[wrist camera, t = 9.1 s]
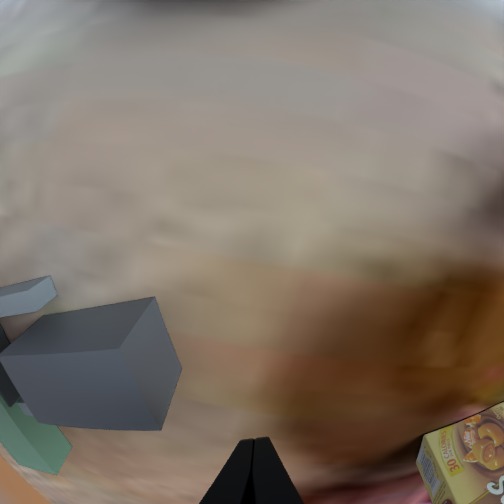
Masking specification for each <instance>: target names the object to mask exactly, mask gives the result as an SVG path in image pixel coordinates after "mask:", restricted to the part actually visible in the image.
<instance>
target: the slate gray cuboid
mask: <svg viewBox="0 0 504 504" xmlns="http://www.w3.org/2000/svg"><path fill="white" fill-rule="evenodd" d="M0 361H1V363H2V365H3V367H4V369H5V371H6V372H7V374H8V376H9V378H10V379H11V381H12V383H13V384H14V386H15V388H16V389H17V391H18V393H19V394H20V396H21V398H22V399H23V401H24V402H25V404H26V405H27V407H28V408H29V410H30V411H31V413H32V414H33V416H34V417H35V419H36V420H37V422H38V423H42V424H50V425H58V426H67V427H77V428H90V429H106V430H142V431H150V430H161V429H162V426H163V423H164V420H165V417H166V414H167V411H168V408H169V405H170V402H171V399H172V396H173V394H174V391H175V388H176V385H177V382H178V379H179V376H180V373H181V370H182V367H181V364H180V362H179V360H178V357H177V355H176V352H175V349H174V347H173V344H172V342H171V339H170V337H169V334H168V331H167V329H166V326H165V323H164V320H163V318H162V315H161V312H160V309H159V307H158V304H157V301H156V298H155V297H150V298H144V299H138V300H133V301H127V302H121V303H115V304H110V305H104V306H98V307H92V308H86V309H80V310H74V311H68V312H62V313H55V314H49V315H43V316H42V317H41V318H40V319H39V320H37V321H36V322H35V323H34V324H33V325H32V326H30V327H29V328H28V329H27V330H26V331H25V332H24V333H22V334H21V335H20V336H19V337H18V338H17V339H16V340H15V341H13V342H12V343H11V344H10V345H9V346H8V347H7V348H6V349H5V350H3V351H2V352H1V353H0Z"/></svg>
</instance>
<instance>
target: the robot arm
mask: <svg viewBox="0 0 504 504" xmlns="http://www.w3.org/2000/svg"><path fill="white" fill-rule="evenodd" d="M199 504H304V503H303V501H302V499H301V497H300V495H299V494H298V492H297V490H296V488H295V486H294V484H293V483H292V481H291V479H290V477H289V475H288V473H287V471H286V469H285V468H284V466H283V464H282V462H281V460H280V458H279V456H278V454H277V452H276V450H275V448H274V446H273V444H272V442H271V440H270V438H269V437H260V438H256V439H255V440H254V439H243V440H240V441H239V443H238V444H237V446H236V448H235V449H234V451H233V452H232V454H231V456H230V457H229V459H228V460H227V462H226V464H225V465H224V467H223V468H222V470H221V471H220V473H219V474H218V476H217V478H216V479H215V481H214V482H213V484H212V485H211V487H210V488H209V490H208V491H207V493H206V494H205V496H204V497H203V499H202V500H201V502H200V503H199Z"/></svg>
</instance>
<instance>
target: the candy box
mask: <svg viewBox="0 0 504 504" xmlns="http://www.w3.org/2000/svg"><path fill="white" fill-rule="evenodd" d="M416 465H417V467H418V470H419V472H420V475H421V477H422V479H423V481H424V484H425V486H426V489H427V491H428V493H429V496H430V498H431V501H432V503H433V504H504V402H502V403H500V404H498V405H495V406H493V407H491V408H489V409H487V410H486V411H484V412H481V413H479V414H477V415H474V416H472V417H469V418H467V419H465V420H463V421H460V422H458V423H455V424H453V425H450V426H447V427H445V428H442V429H439V430H437V431H434V432H431V433H428V434H425V435H424V436H423V440H422V443H421V447H420V450H419V454H418V457H417V460H416Z"/></svg>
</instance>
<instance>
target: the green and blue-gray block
mask: <svg viewBox="0 0 504 504" xmlns="http://www.w3.org/2000/svg"><path fill="white" fill-rule="evenodd" d="M56 296H57V293H56V290H55V287H54V285H53V282H52V279H51V277H50V276H46V277H42V278H38V279H34V280H30V281H26V282H22V283H18V284H15V285H11V286H7V287H3V288H0V317H6V316H12V315H18V314H25V313H31V312H37V311H38V310H39V309H41V308H42V307H43V306H44V305H46V304H47V303H48V302H49V301H51V300H52V299H53V298H54V297H56ZM9 345H10V344H9V342H8V340H7V338H6V336H5V334H4V331H3V329H2V327H1V325H0V353H1V352H2V351H3V350H5V349H6V348H7V347H8V346H9ZM0 442H1V443H2V445H3V446H4V447H5V448H6V450H7V451H8V452H9V453H10V454H11V456H12V457H13V458H14V459H15V460H16V462H17V463H18V464H19V465H22V466H25V467H28V468H32V469H35V470H39V471H43V472H46V473H50V474H54V475H57V474H58V472H59V470H60V468H61V466H62V464H63V463H64V461H65V459H66V457H67V455H68V453H69V452H70V450H71V448H72V446H71V444H70V443H69V442H68V441H67V439H66V438H65V436H64V435H63V434H62V432H61V431H60V430H59V428H58V427H57V425H50V424H42V423H38V422H37V420H36V419H35V417H34V416H33V414H32V413H31V411H30V410H29V408H28V407H27V405H26V404H25V402H24V401H23V399H22V398H21V396H20V394H19V393H18V391H17V389H16V388H15V386H14V384H13V383H12V381H11V379H10V378H9V376H8V374H7V372H6V371H5V369H4V367H3V365H2V363H1V361H0Z"/></svg>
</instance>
